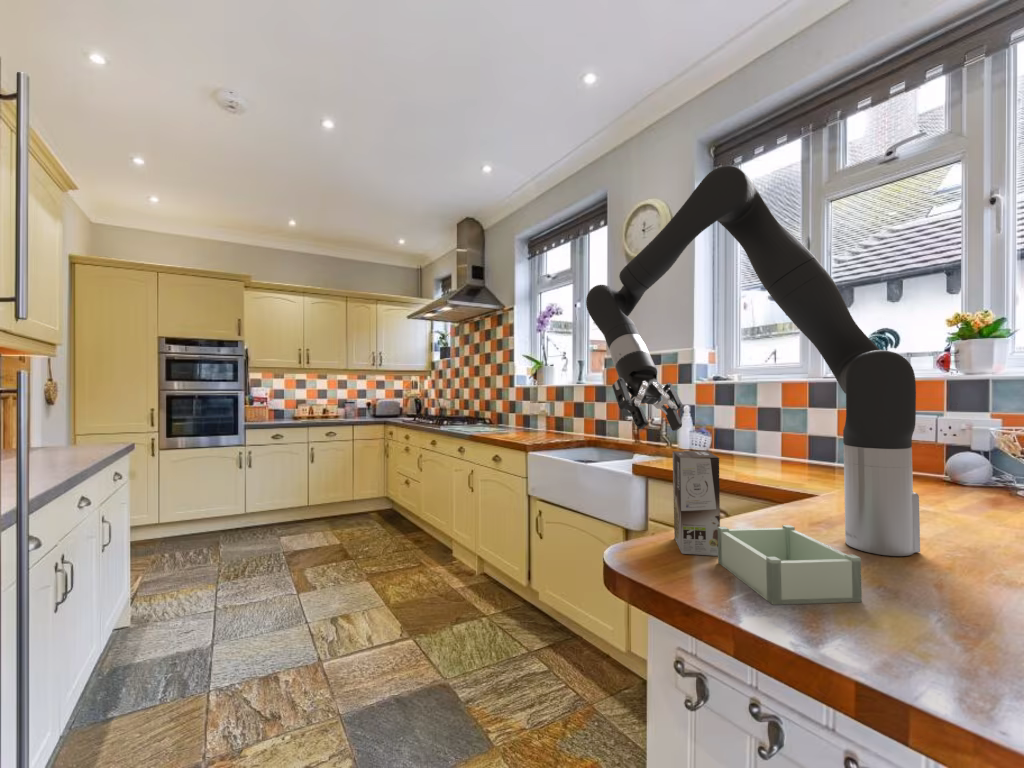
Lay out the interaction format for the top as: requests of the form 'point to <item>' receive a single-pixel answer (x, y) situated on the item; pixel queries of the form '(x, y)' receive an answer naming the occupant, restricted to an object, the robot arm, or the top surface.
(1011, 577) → the top surface
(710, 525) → the coffee box
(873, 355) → the robot arm
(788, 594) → the crate
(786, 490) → the top surface
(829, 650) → the top surface
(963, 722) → the top surface
